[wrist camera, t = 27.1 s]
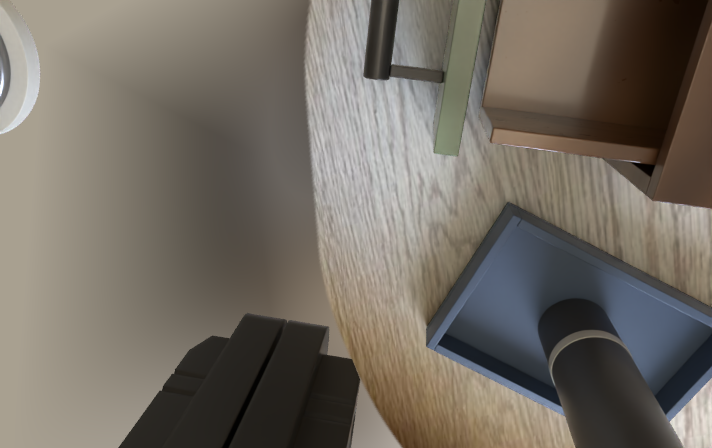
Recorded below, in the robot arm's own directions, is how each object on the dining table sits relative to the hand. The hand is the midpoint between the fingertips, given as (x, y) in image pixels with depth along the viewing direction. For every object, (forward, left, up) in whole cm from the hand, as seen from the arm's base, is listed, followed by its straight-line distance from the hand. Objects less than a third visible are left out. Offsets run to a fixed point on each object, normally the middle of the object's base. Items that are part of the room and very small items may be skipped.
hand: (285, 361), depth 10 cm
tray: (+18, -7, -27) cm, 33 cm away
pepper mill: (+18, -7, -26) cm, 33 cm away
